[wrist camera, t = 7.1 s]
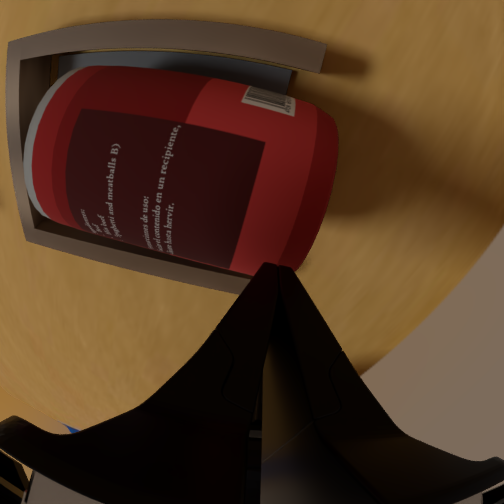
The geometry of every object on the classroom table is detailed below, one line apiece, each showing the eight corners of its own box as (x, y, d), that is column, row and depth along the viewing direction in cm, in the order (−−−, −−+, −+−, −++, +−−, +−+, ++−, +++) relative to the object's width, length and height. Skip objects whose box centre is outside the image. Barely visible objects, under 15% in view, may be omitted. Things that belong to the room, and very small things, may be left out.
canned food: (303, 142, 16) (127, 103, 15) (356, 77, 8) (72, 32, 7) (270, 271, 16) (89, 223, 16) (306, 304, 9) (1, 218, 8)
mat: (248, 245, 19) (248, 247, 19) (65, 207, 19) (63, 209, 18) (291, 70, 13) (291, 70, 12) (62, 55, 12) (59, 56, 12)
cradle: (258, 266, 20) (255, 297, 18) (47, 219, 20) (26, 240, 17) (318, 47, 12) (327, 44, 9) (39, 37, 11) (8, 42, 9)
